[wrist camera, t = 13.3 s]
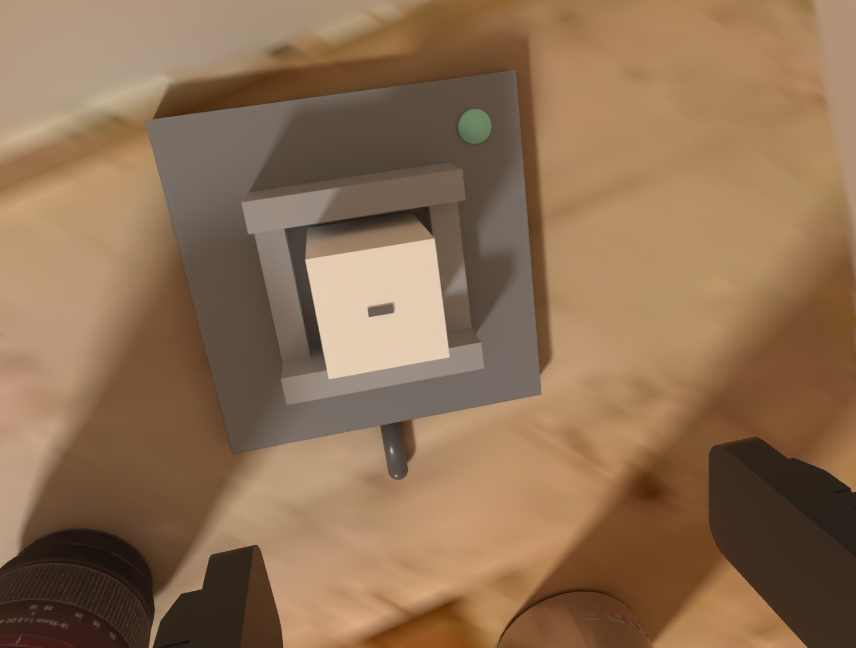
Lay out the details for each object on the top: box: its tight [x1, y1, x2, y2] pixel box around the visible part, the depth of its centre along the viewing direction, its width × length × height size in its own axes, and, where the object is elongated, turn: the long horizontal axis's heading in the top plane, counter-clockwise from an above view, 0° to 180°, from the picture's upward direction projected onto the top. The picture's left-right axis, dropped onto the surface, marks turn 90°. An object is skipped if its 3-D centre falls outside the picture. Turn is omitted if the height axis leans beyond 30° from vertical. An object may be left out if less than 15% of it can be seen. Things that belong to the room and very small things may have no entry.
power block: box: [145, 70, 541, 480], centre depth 29 cm, size 18×15×4 cm
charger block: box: [305, 212, 450, 379], centre depth 26 cm, size 4×4×6 cm
